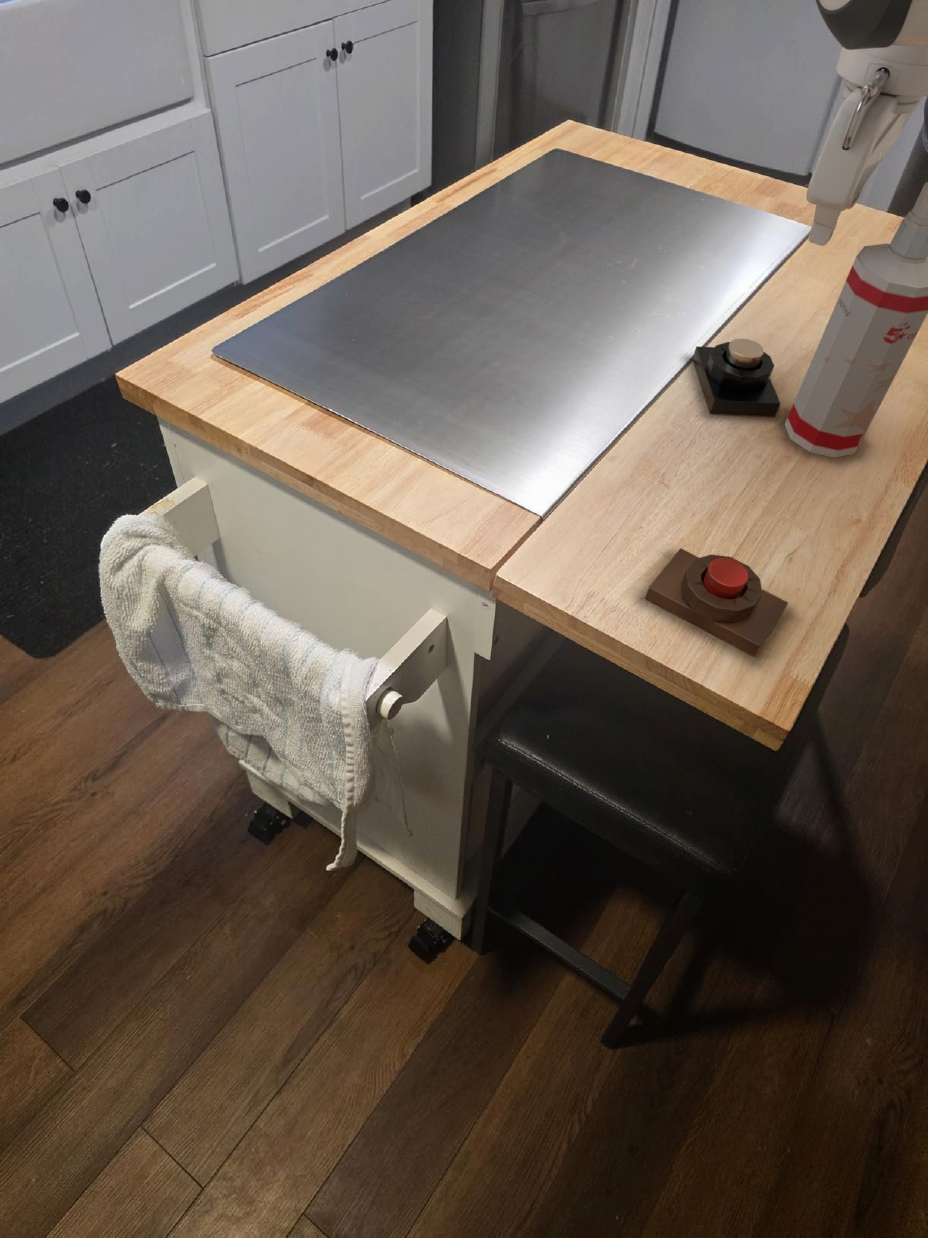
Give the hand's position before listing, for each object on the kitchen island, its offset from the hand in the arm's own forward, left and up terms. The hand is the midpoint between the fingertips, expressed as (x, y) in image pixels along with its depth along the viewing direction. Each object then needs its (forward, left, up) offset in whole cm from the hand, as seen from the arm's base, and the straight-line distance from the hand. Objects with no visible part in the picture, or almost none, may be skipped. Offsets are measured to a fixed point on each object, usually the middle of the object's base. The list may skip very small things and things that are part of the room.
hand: (832, 222), depth 82 cm
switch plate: (+4, +1, -18) cm, 18 cm away
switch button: (+4, +1, -15) cm, 15 cm away
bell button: (+13, +33, -15) cm, 39 cm away
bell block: (+13, +33, -18) cm, 40 cm away
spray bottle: (-3, +9, -18) cm, 20 cm away
